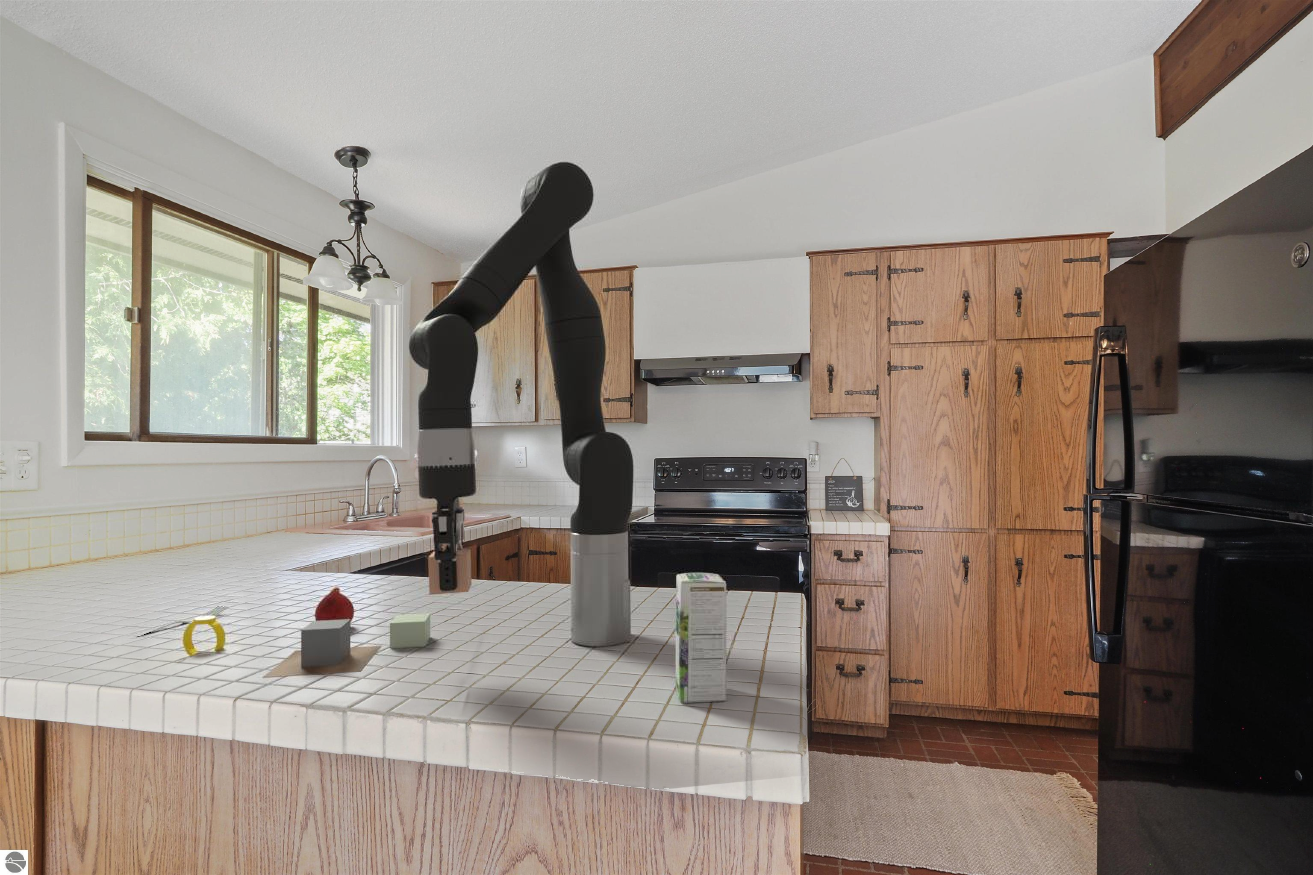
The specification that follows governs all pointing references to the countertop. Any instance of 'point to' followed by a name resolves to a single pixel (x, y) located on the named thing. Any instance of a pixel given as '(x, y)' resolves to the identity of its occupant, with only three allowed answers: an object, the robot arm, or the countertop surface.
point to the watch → (200, 620)
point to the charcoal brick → (325, 643)
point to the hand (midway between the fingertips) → (451, 585)
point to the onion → (334, 607)
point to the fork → (189, 622)
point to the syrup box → (700, 637)
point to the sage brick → (410, 630)
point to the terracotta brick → (462, 573)
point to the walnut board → (350, 664)
